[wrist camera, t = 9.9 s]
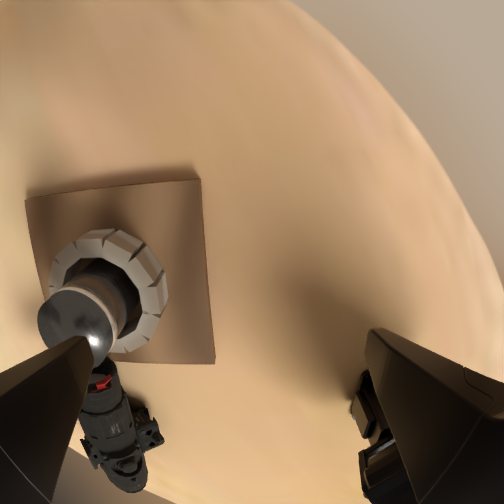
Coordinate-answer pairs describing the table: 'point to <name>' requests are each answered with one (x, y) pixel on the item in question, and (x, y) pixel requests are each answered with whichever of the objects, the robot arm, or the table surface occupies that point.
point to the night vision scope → (116, 430)
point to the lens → (90, 308)
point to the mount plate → (165, 237)
